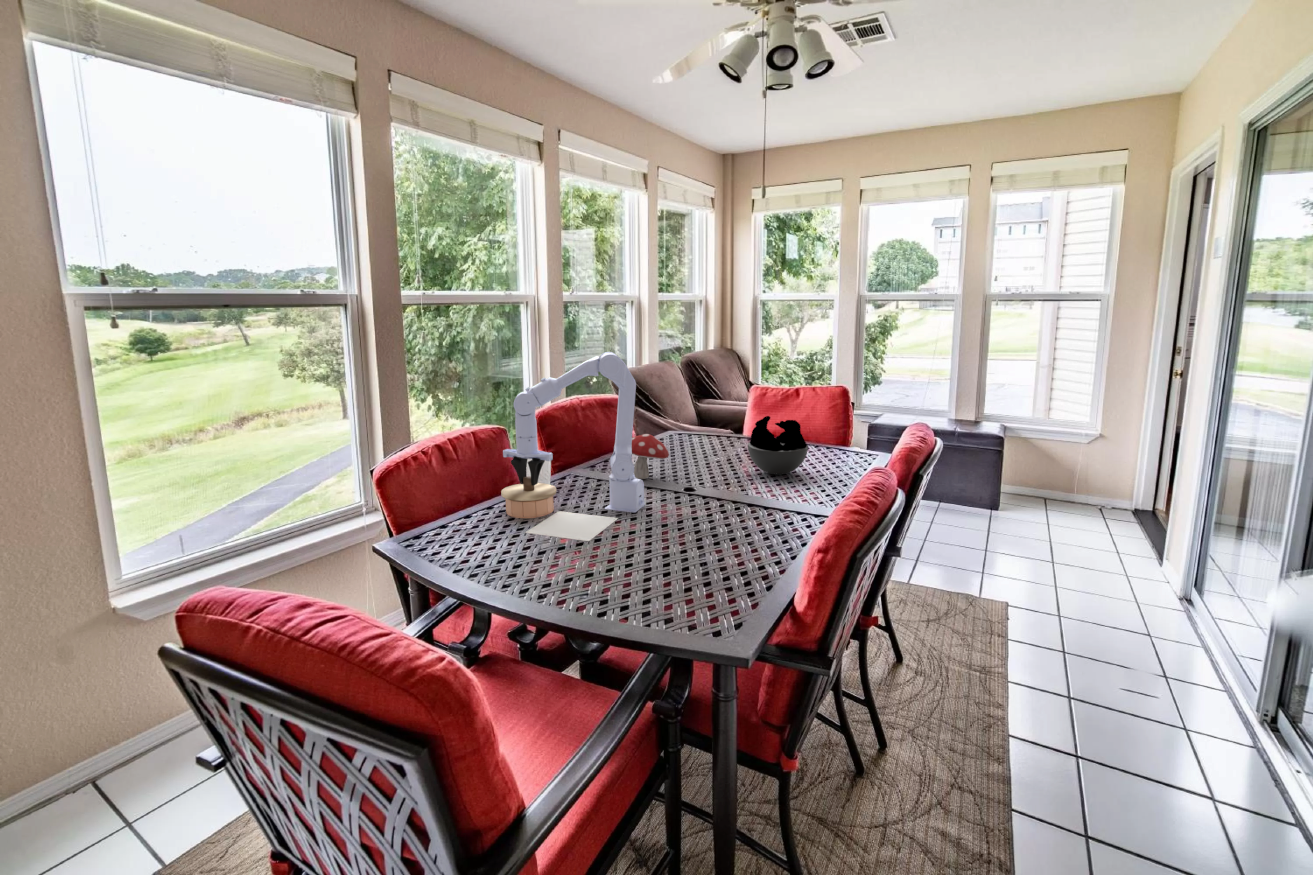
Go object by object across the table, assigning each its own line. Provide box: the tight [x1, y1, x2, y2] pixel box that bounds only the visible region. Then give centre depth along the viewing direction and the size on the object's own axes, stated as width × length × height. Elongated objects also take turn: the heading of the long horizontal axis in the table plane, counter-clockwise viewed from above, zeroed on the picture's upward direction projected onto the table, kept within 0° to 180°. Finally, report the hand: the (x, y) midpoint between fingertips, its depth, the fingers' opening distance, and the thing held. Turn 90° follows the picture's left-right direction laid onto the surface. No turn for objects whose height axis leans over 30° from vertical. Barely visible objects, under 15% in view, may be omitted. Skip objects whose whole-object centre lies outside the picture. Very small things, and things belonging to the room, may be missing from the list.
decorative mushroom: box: [632, 433, 670, 480], centre depth 215 cm, size 16×16×15 cm
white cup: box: [526, 459, 552, 485], centre depth 208 cm, size 8×8×10 cm
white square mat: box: [524, 510, 619, 542], centre depth 171 cm, size 18×18×1 cm
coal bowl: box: [747, 415, 809, 476], centre depth 219 cm, size 20×20×19 cm
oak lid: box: [500, 475, 557, 501], centre depth 181 cm, size 15×15×4 cm
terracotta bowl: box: [504, 496, 555, 519], centre depth 183 cm, size 13×13×5 cm
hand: (529, 483), depth 181 cm, fingers closed on oak lid, 3 cm apart
